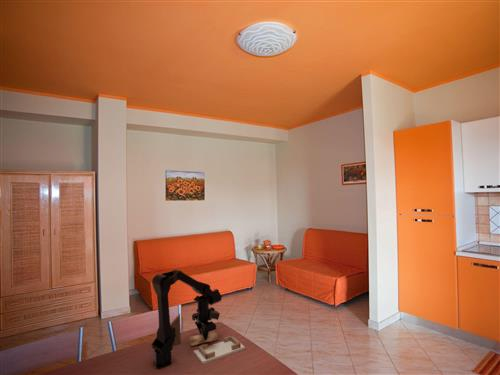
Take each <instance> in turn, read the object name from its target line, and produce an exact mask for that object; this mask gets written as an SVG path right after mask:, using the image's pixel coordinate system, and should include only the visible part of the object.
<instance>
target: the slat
mask: <svg viewBox="0 0 500 375" xmlns="http://www.w3.org/2000/svg"><path fill="white" fill-rule="evenodd" d="M218 340H219V333H218V331H217V330H213V331H209V333H208V337H207V340H204V337H203V335H202V334H200V333H199V334H196V335H192V336H189V344H190V346H191V347H193V346H196V345H200V344H201V345H203V344H206V343H209V342H213V341H218Z"/></svg>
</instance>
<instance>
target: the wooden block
mask: <svg viewBox="0 0 500 375" xmlns="http://www.w3.org/2000/svg"><path fill="white" fill-rule="evenodd" d="M170 325H171V326H172V327H174V328H175V334H176V337H175V341H174V343H173V345H180V344H181V340H182V339H181V338H182V336H181V333H182V332H181V313H179V314H178V315H177V316H176V317H175V318H174V319H173V320H172V321H170Z"/></svg>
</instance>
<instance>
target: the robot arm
mask: <svg viewBox="0 0 500 375" xmlns="http://www.w3.org/2000/svg"><path fill="white" fill-rule="evenodd" d="M178 281H179V282H181V283H183V284H185V285H186V286H189V287H190V288H191V289H192V291H194V292H195V293H196V294H199V295H196V296H195V297H194V298H193V301H194V302H197V309H196V312H195V313H193V314H192V315H191V320H192V321H195V322H194V324H195V326H196V328H197V330H198V332H199V335H200V334H202V335H203V337H204V340H207V337H208V333H209V332H213V331H217V324H216V323H215V322H214V321H212V319H213V320H217V321H219V318H220V314H221V312H219V311H217V310H216V309H215V308H214V307H213V306H214V305H215V304H217V303H220V302H221V301H222V299H223V298H222V294H221V293H220V291H219V289H217V288H215V289H213V290H212V289H211V285H210V284H208V283H206V282H201V281H198V280H197V279H194V278H193V277H191V276H190V275H188V274H186V273H184V272H183V271H182V270H178V269H173V270H171V271H168V272H163V273H161V274H160V273H159V274H156V275H154V277H153V278H152V279H151V284H152V287H153V290H154V292H155V294H156V297H157V311H158V328H157V331H156V337H155V339H154V340H153V342H152V343H151V347H152V349H153V350H154V352H153V353H154V360H153V364H154V366H155V368H156V369H157V370H159V369H161V368H162V369H163V368H164V367H167V366H171V365H172V350H173V347H174V344H173V343H174V341H175V337H176V334H175V328H174V327H172V326H171V325H170V323H171V319H170V318H171V316H170V305H169V304H170V303H169V293H170V291H171V286H172V285H174V284H176V283H177V282H178ZM210 306H211V307H210Z"/></svg>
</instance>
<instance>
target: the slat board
mask: <svg viewBox="0 0 500 375" xmlns="http://www.w3.org/2000/svg"><path fill="white" fill-rule="evenodd" d="M197 347H198V348H197V349H195V350H193V353H194V356H196V357H197V359H198V360H199V361H200V363H201V364H202V365H204V364H207V363H210V362H213V361H216V360H218V359H221V358H224V357H226V356H228V355H229V356H230V355H232V354H235V353H238V352H240V351H243V350H245V349H246V347H245V346H244V345H243V344H242V343H241V342H240V341H239V340H237V338H235V337H234V336H233V335H229V336H225V337H223V341H219V342H218V343H217V342H216V343H214V344H210V345H209V344H208V342H206V343H202V344H201V345H200V344H199V345H198V346H197Z"/></svg>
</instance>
